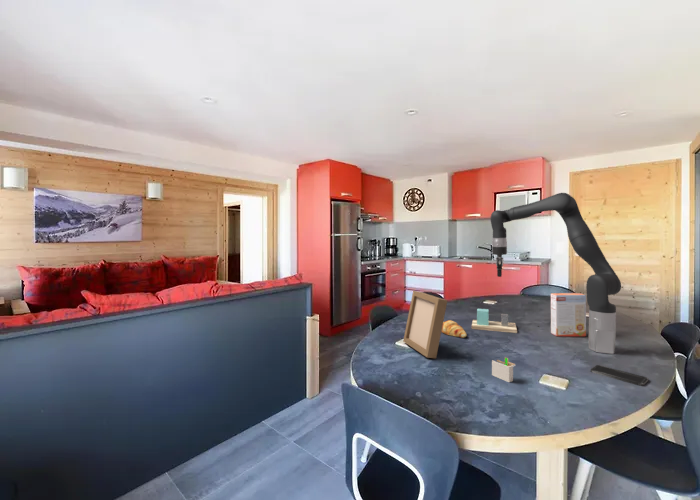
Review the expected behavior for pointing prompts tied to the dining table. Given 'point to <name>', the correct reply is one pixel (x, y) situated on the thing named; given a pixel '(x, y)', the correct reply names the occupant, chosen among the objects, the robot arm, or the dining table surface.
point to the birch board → (495, 327)
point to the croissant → (453, 329)
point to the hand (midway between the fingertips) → (499, 276)
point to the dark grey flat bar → (620, 375)
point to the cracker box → (568, 314)
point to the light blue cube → (482, 316)
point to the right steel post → (504, 320)
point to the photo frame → (425, 323)
